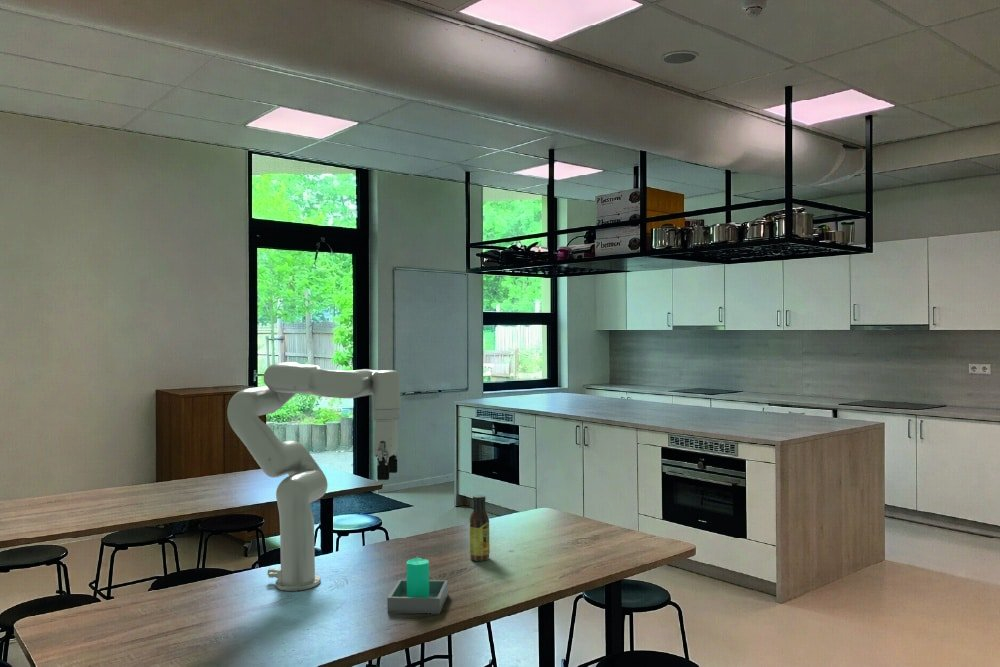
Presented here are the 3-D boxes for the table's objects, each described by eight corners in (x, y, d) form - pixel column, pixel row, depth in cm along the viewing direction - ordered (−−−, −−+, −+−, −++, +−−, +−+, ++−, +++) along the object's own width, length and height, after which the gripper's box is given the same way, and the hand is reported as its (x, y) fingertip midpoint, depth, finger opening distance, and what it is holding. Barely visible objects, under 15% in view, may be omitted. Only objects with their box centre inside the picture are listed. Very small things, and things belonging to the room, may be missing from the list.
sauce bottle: (487, 562, 228) (486, 498, 228) (467, 561, 230) (466, 498, 230) (491, 556, 235) (490, 494, 235) (472, 555, 236) (471, 493, 236)
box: (387, 613, 189) (387, 597, 189) (399, 594, 202) (399, 579, 202) (439, 614, 188) (439, 598, 188) (448, 594, 201) (447, 580, 201)
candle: (420, 606, 191) (419, 560, 191) (402, 602, 194) (401, 557, 194) (434, 599, 196) (433, 554, 196) (416, 595, 199) (415, 551, 199)
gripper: (381, 411, 213) (381, 470, 213) (365, 418, 196) (366, 482, 196) (406, 411, 212) (407, 470, 212) (392, 418, 195) (393, 482, 195)
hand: (387, 476), depth 204 cm, fingers open, 9 cm apart
